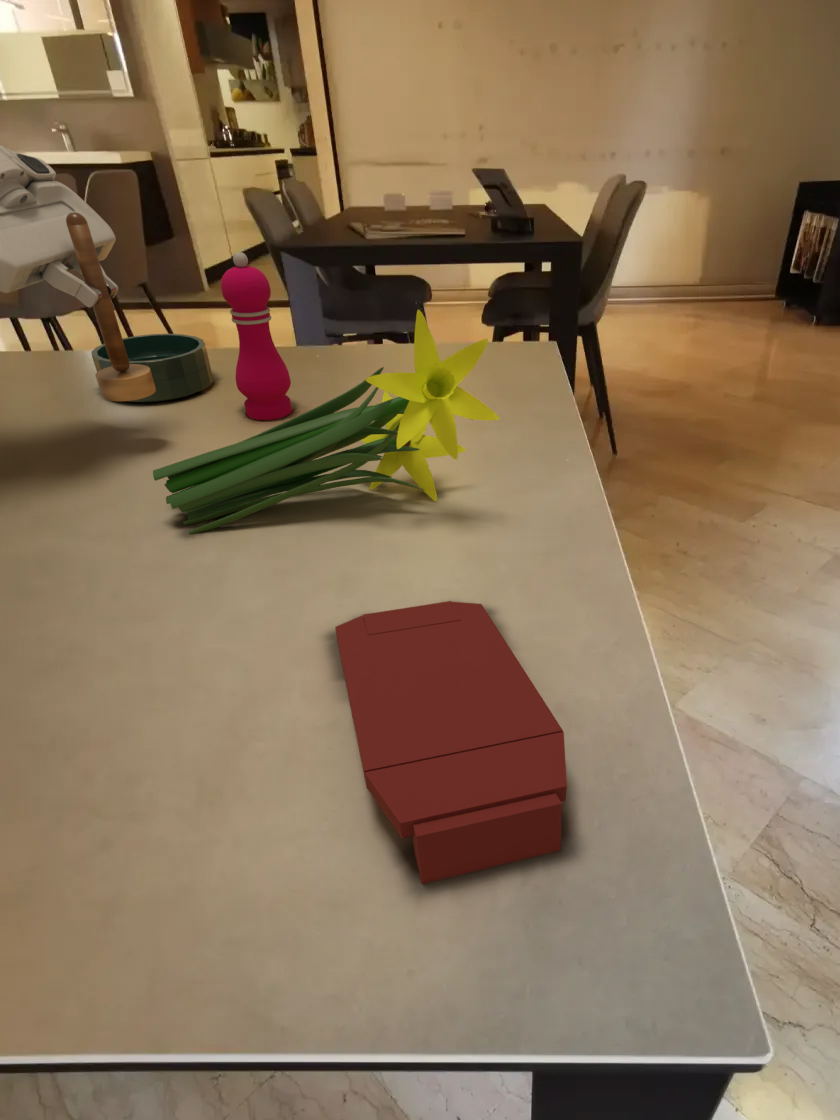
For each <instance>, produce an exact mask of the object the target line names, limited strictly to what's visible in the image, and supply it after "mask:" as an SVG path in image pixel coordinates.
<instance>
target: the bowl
mask: <svg viewBox="0 0 840 1120" xmlns="http://www.w3.org/2000/svg"><path fill="white" fill-rule="evenodd" d="M122 339H123V342H124V345H125V349H126V352H127V355H128V359H129V362H130V364H140V365H145V366H148V367H149V368H150V370H151V373H152V377H153V380H154V384H155V387H156V391H155V393H154V394H152V395H150V396H148V397H145V398H142V399H138V400H132V401H130V402H131V403H160V402H168V401H173V400H174V401H175V400H179V399H182V398H187V397H189V396H192V395H194V394H196V393H198V392H202V391H204V390H205V389H208V387H210V386H211V385H212V384H213V382H214V376H213V372H212V368H211V363H210V358H209V353H208V350H207V347H206V343H205V341H204V339H202V338H200V337H198V336H194V335H189V334H184V333H183V334H182V333H151V334H142V335H141V334H140V335H134V336H128V337H122ZM91 358H92V362H93V364H94V367H95V370H96V373H97V372H98V371H100V370H102V369H104V368H107V367H111V366H112V365H111V363H110V359H109V356H108V353H107V350H106V347H105V344H104V343H103V344H100V345H98V346H96V347H95V348H94V349H92V350H91Z"/></svg>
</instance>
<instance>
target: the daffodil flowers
mask: <svg viewBox="0 0 840 1120" xmlns="http://www.w3.org/2000/svg"><path fill="white" fill-rule="evenodd" d="M413 341H414V344H413V351H414V352H413V356H414V357H413V358H414V360H413V361H414V372H387V373H382V372H383V371H384V369H385V367H384V366H382V367H380V368H379V369H377V370H376V371H375V372H373V373H372V374H371V375H369V376H368V377H367V378H365V379H364V380H363V381H362V382H360V383H359V384H356V385H355V386H354V387H351V388H350V389H349V390H347V391H346V392H344V393H342V394H340V395H338V396H336V397H334V398H332V399H329V400H328V401H325V402H324V403H322V404H320V405H318V406H316V407H313V408H311V409H310V410H308V411H305V412H304V413H301V414H299V415H297V416H294V417H293V418H291V419H288V420H286V421H284V422H281V423H279V424H278V425H276V426H275V425H274V426H272V427H271V428H269V429H266V430H264V431H262V432H261V433H258V434H255V435H253V436H251V437H247V438H246V439H244V440H241V441H239V442H237V443H233V444H229V445H226V446H224V447H221V448H217V449H214V450H211V451H210V450H209V451H207V452H203V453H202V454H201V453H200V454H198V455H195V456H193V457H189V458H187V459H184V460H180V461H177V462H175V463H171V464H168V465H165V466H162V467H160V468H156V469H153V470H152V477H153V480H154V481H159V480H162V479H164V478H167V480H165V483H164V484H163V485H164V487H165V488H166V489H167V491H169V493H171V494H169V495H167V496H166V497H165V503H166V505H169V504H170V507H171V509H172V510H174V509H177V508H178V509H179V511H180V512H181V513H184V512H186V514H187V520H184V521H182V525H184V526H189V525H193V524H197V523H203V522H208V521H210V520H213V519H216V518H219V519H217V520H214V521H212V522H209V523H207V524H204V525H201V526H199V527H196V528H194V529H191V530H188V534H190V535H192V534H197V533H203V532H206V531H211V530H214V529H217V528H220V527H222V526H225V525H227V524H230V523H233V522H236V521H237V520H240V519H242V518H245V517H247V516H249V515H252V514H255V513H257V512H259V511H261V510H264V509H266V508H269V507H271V506H273V505H275V504H279V503H280V502H283V501H285V500H287V499H290V498H292V497H297V496H298V497H299V496H302V495H306V494H307V495H308V494H313V493H316V492H322V491H325V490H330V489H336V488H341V487H348V486H356V485H363V484H367V483H370V485H369V488H368V490H370V491H373V490H375V489H377V487H379V486H380V485H381V484H383V483H391V484H392V483H393V484H397V485H400V486H401V485H403V486H407V487H410V488H414V489H417V490H421V491H423V492H424V493H425V494H426V495H427V496H428V497H429V498H431V499H432V501H434V502H435V503H436V502H437V500H438V494H437V490H436V486H435V481H434V477H433V474H432V472H431V469H430V467H429V464H428V462H427V459H430V458H438V457H439V458H440V457H447V456H450V457H451V458H452V459H453V460H455V461H458V459H459V458H458V457H459V454H462V453H465V452H466V451H467V449H466V448H465V447H463V446H462V445H460V444H459V443H458V435H457V426H456V420H455V416H459V417H462V418H465V419H469V420H475V421H489V422H490V421H498V420H500V419H501V417H500V416H499V415H498V414H497V413H496V412H495V411H494V410H492V409H491V408H490V407H489V406H487V404H485V403H484V402H483V401H481V400H480V399H479V398H477V397H476V396H474V395H473V394H471V393H469V392H468V391H467V390H465V389H464V388H462V387H460V386H459V384H460V383H461V382H462V381H463V380H464V379H465V378H466V377H467V376H468V374H470V372H471V371H472V370H473V369H474V368H475V366H476V364H477V363H478V362H479V360H480V358H481V357H482V355H483V353H484V351H485V350H486V347H487V345H488V342H489V338H483V339H481V340H478V341H476V342H474V343H472V344H469V345H467V346H466V347H464V348H462V349H460V350H458V351H456V352H455V353H453V354H451V355H449V356H448V357H447V358H445V359H443V360H441V359H440V355H439V353H438V348H437V345H436V342H435V339H434V336H433V334H432V332H431V330H430V328H429V325H428V322H427V319H426V317H425V316H424V314H423V312H422V311H421V310H420V309H417V310H416V316H415V326H414V340H413ZM372 386H374V387H375V388H374V389H373V390H372V392H371V393H370V394H369V395H368V397H366V399H364V401H363V402H362V403H361V404H360V405H359V406H358V407H351V408H348V409H347V408H346V407H348V406H349V405H352V404H353V403H355V402H356V401H357V400H358V399H359V398H361V397H362V396H363V395H365V393H366V392H367V391H368V390H369V389H370V388H371V387H372ZM379 389H380V390H381V391H384V392H383V395H382V401H381V402H380V403H376V404H374V405H369V404H370V402H372V400H373V398H374V397H375V395H376V394H377V392H378V390H379ZM390 394H391V395H393V396H396V397H394V398H392V396H391V395H390ZM344 408H346V409H344ZM342 409H344V410H342ZM429 424H430V426H431V429H432V430H433V433H434V434H435V436H433V435H428V434H427V435H426V434H425V433H426V430H427V427H428V425H429ZM383 427H385V428H383ZM360 441H361V442H363V444H362V445H359V446H356V447H352V448H349V449H345V450H342V451H339V450H341V449H344V448H346V447H349V446H351V445H353V444H355V443H356V444H357V443H358V442H360ZM336 451H338V452H336ZM334 452H335V453H334ZM331 453H332V454H331ZM328 454H329V455H328ZM380 454H383V455H380ZM375 461H376V462H377V461H379V463H378V464H377V467H376V469H375V471H373V470H367V469H359V468H361V467H363V466H364V465H366V464H367V463H368V462H375ZM341 467H342V468H341ZM401 467H403V468H404V470H405V471H406V472H407V474H408V475H409V476H410V477H411V479H412V480H413V481H414V483H416V485H414V484H412V483H409V482H407V481H403V480H400V479H397V478H394V477H393V475H394V474H396V473H397V472H398V470H400V469H401ZM339 468H340V469H339ZM337 469H338V470H337ZM333 470H335V471H333ZM330 471H333V472H330ZM327 472H330V473H327ZM325 473H326V474H325ZM352 478H353V479H352ZM228 514H230V515H228ZM223 516H224V517H223ZM220 517H221V518H220Z"/></svg>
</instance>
